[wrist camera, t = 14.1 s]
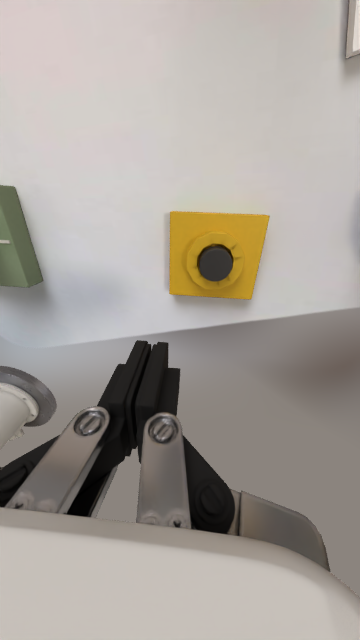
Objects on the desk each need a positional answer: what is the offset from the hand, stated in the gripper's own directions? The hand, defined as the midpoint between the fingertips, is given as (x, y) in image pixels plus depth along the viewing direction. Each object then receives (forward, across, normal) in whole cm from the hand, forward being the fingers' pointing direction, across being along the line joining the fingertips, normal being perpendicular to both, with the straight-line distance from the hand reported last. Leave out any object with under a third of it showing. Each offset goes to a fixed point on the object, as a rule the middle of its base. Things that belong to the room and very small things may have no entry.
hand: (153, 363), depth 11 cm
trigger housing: (+20, -4, -2) cm, 20 cm away
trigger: (+16, -4, -2) cm, 17 cm away
